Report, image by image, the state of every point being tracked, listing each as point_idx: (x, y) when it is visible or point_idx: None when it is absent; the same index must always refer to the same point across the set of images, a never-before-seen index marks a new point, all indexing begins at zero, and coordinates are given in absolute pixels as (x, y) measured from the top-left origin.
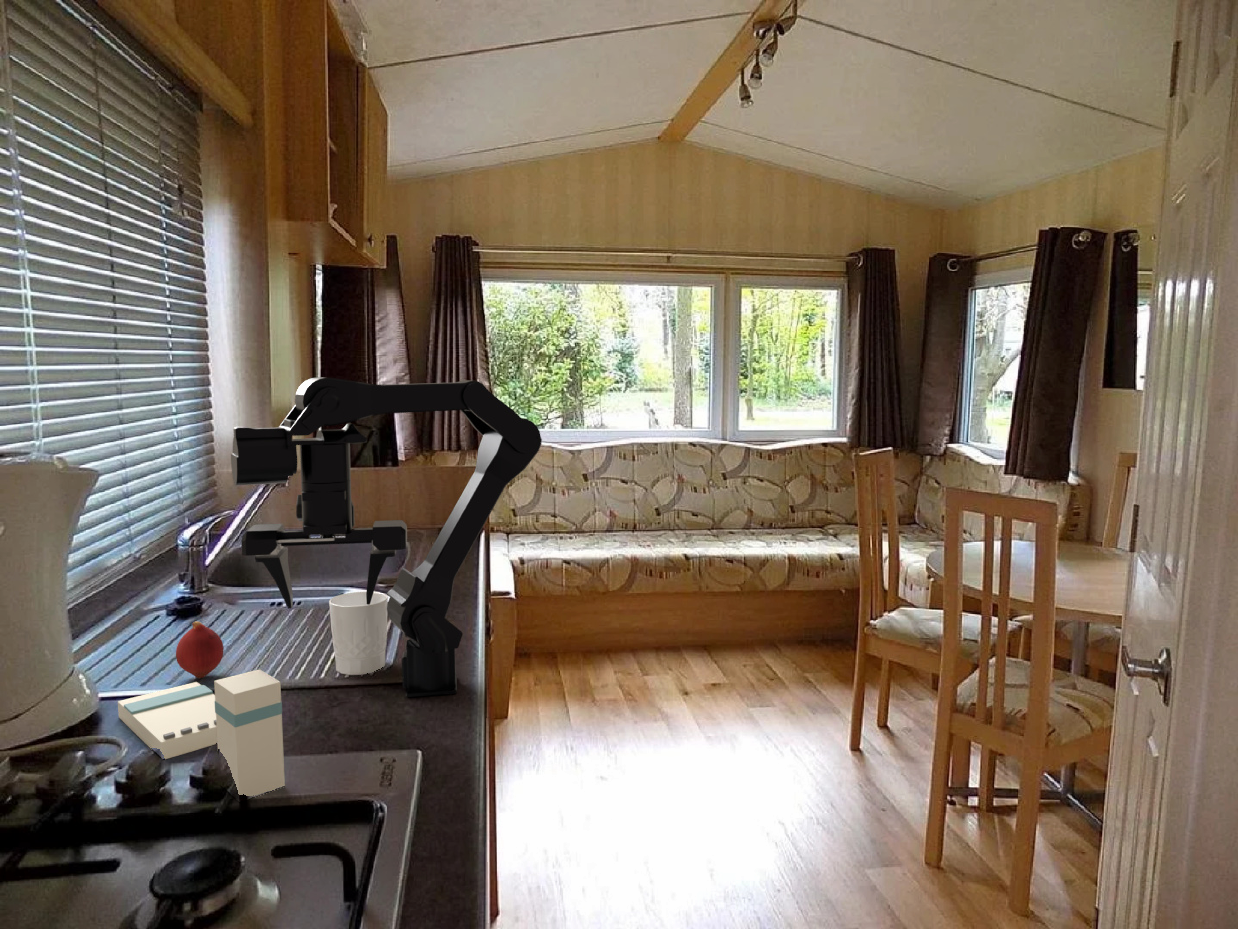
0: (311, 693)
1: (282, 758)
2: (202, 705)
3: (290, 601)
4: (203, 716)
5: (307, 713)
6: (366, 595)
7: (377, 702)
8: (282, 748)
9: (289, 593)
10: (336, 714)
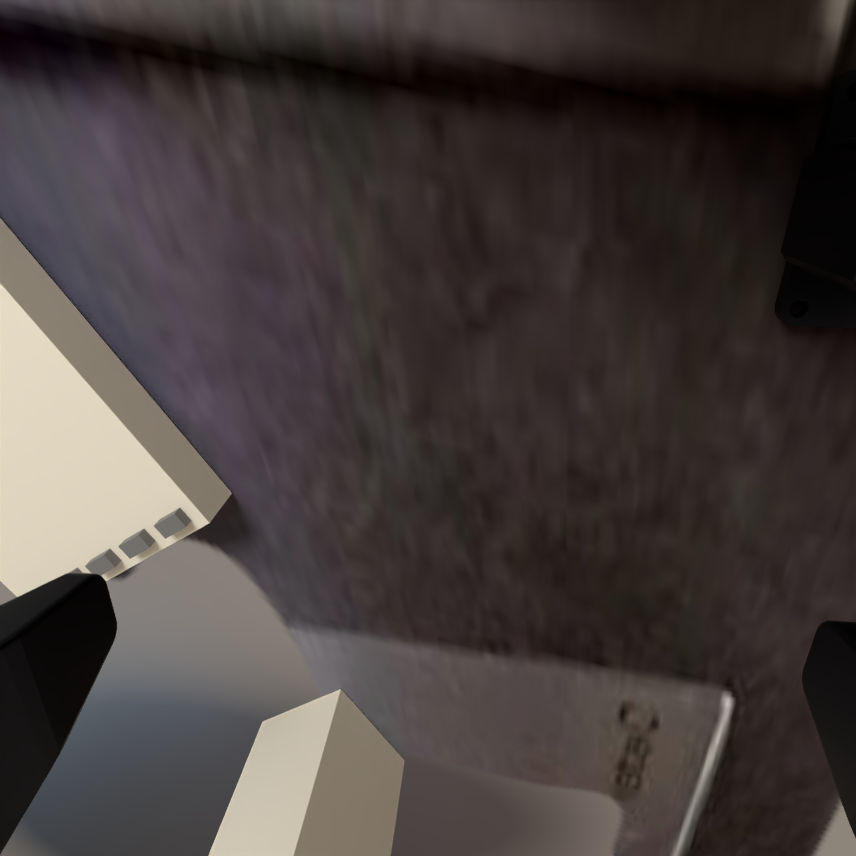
0: (364, 150)
1: (392, 826)
2: (6, 378)
3: (78, 708)
4: (62, 477)
5: (385, 371)
6: (844, 807)
7: (647, 327)
8: (389, 853)
9: (23, 807)
10: (490, 405)
